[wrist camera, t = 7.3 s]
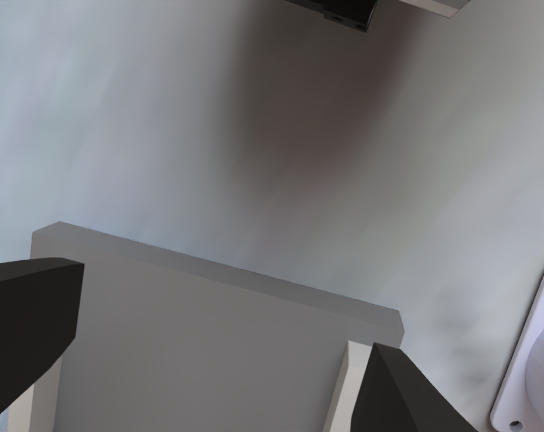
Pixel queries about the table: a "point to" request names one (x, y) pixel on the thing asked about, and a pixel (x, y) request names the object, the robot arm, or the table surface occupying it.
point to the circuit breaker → (361, 4)
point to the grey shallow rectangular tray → (198, 346)
